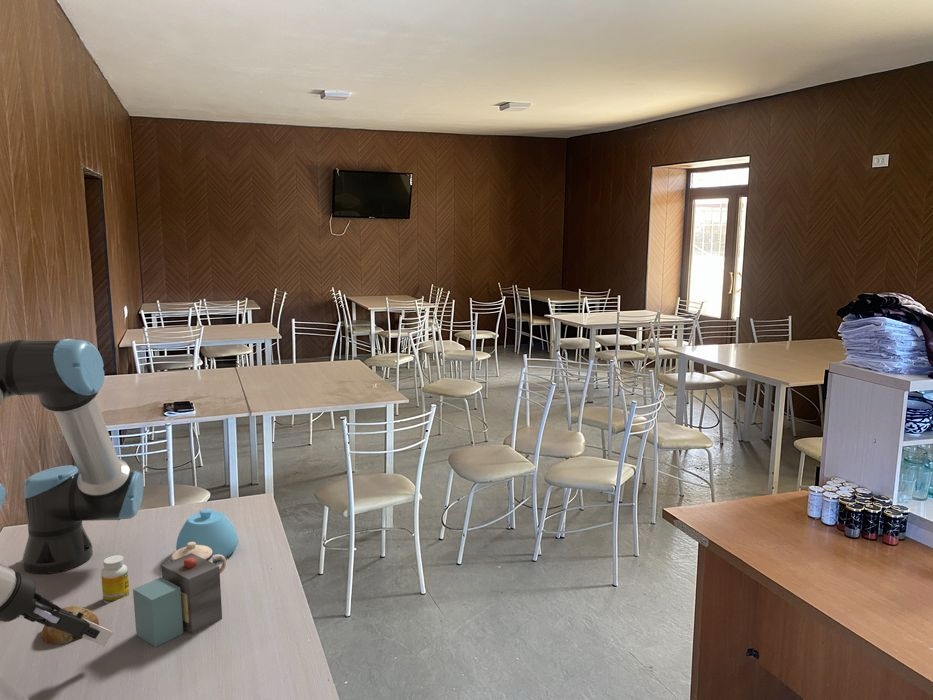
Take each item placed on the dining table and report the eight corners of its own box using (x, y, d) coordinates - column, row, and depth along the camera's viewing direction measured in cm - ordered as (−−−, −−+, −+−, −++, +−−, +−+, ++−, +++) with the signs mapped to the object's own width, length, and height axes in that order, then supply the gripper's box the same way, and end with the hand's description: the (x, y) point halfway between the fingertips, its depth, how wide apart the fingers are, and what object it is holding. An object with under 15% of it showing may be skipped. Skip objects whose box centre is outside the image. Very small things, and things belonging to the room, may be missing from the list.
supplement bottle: (103, 596, 160) (99, 556, 158) (129, 590, 162) (126, 551, 160) (103, 607, 155) (99, 566, 153) (130, 601, 157) (127, 561, 156)
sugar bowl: (246, 556, 179) (244, 513, 178) (184, 572, 171) (181, 527, 169) (229, 535, 192) (227, 495, 190) (170, 549, 183) (168, 506, 181)
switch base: (90, 655, 137) (84, 587, 135) (192, 607, 155) (188, 546, 152) (122, 678, 130) (117, 607, 128) (225, 626, 148) (222, 562, 145)
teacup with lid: (177, 604, 156) (174, 555, 154) (169, 587, 164) (166, 540, 162) (232, 590, 163) (229, 542, 161) (222, 574, 170) (219, 528, 168)
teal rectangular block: (136, 635, 142) (132, 589, 140) (164, 621, 147) (161, 577, 145) (155, 647, 138) (152, 600, 136) (183, 633, 143) (180, 587, 141)
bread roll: (55, 670, 139) (61, 642, 136) (28, 635, 143) (34, 607, 140) (103, 646, 147) (110, 619, 144) (77, 613, 151) (83, 586, 148)
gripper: (-33, 601, 119) (76, 645, 135) (0, 626, 112) (112, 670, 128) (-2, 560, 123) (102, 608, 139) (33, 582, 115) (138, 630, 131)
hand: (106, 638), depth 133 cm, fingers closed
